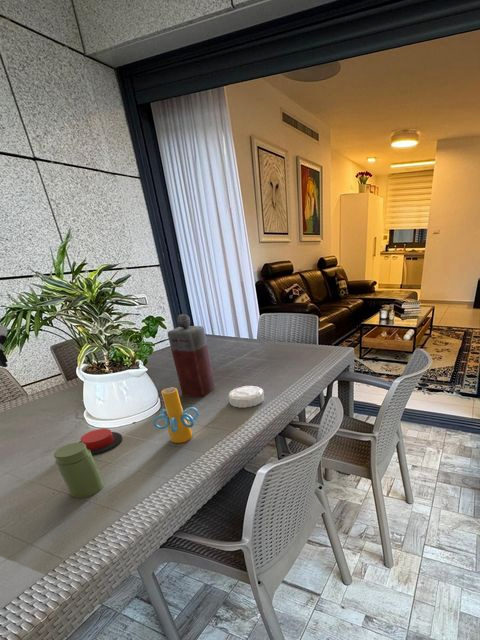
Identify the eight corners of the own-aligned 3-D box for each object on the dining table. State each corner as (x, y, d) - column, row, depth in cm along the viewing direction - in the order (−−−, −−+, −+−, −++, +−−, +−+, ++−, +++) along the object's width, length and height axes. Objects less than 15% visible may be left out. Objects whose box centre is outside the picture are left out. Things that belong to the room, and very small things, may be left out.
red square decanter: (189, 385, 137) (172, 311, 123) (215, 387, 135) (201, 312, 121) (176, 394, 130) (156, 317, 116) (203, 397, 127) (186, 317, 113)
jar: (64, 494, 81) (44, 455, 76) (90, 477, 87) (73, 439, 81) (85, 500, 79) (66, 460, 74) (110, 482, 84) (94, 444, 79)
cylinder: (210, 433, 104) (200, 386, 96) (185, 451, 96) (171, 401, 88) (179, 426, 108) (167, 380, 101) (152, 442, 100) (137, 394, 93)
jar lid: (110, 432, 105) (108, 425, 104) (116, 442, 100) (114, 435, 99) (81, 441, 101) (78, 434, 100) (86, 452, 96) (83, 445, 94)
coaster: (65, 451, 98) (64, 449, 97) (101, 430, 107) (101, 429, 107) (96, 459, 94) (95, 457, 93) (131, 436, 103) (131, 435, 103)
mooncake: (271, 397, 124) (270, 388, 123) (247, 411, 116) (246, 401, 114) (246, 391, 130) (245, 382, 129) (222, 403, 122) (220, 393, 120)
